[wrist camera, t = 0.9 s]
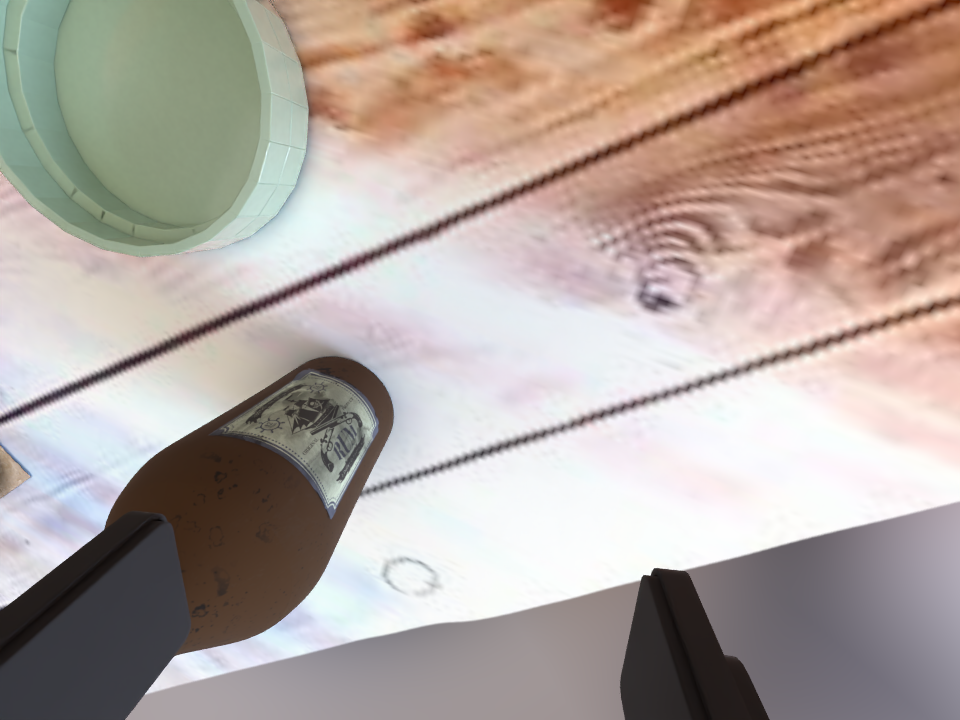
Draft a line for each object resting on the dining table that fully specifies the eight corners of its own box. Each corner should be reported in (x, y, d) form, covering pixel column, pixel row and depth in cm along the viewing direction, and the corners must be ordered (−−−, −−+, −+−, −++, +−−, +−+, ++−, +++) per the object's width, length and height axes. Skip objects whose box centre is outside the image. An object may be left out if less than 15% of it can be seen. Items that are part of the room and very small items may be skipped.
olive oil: (355, 488, 41) (129, 870, 18) (253, 414, 40) (-142, 723, 16) (427, 403, 38) (270, 731, 14) (320, 321, 37) (-51, 533, 13)
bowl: (169, -148, 28) (88, -228, 23) (368, 142, 32) (338, 130, 27) (-13, 69, 33) (-114, 43, 28) (181, 297, 37) (125, 313, 32)
